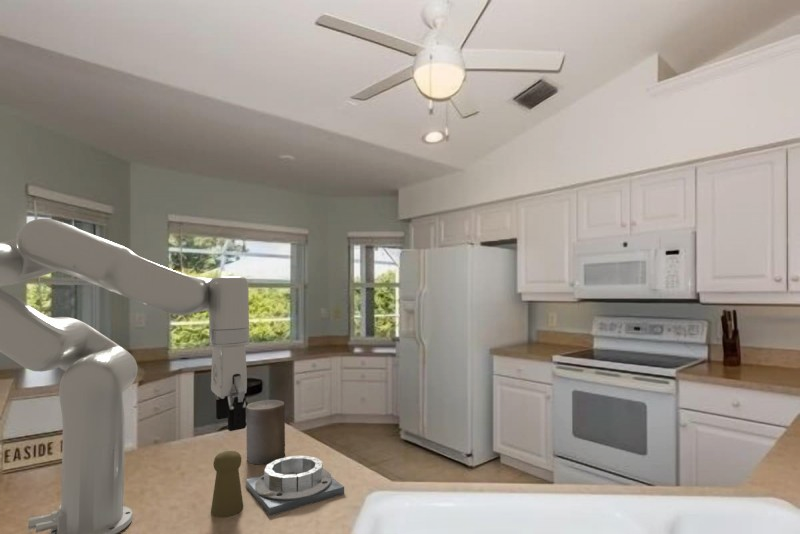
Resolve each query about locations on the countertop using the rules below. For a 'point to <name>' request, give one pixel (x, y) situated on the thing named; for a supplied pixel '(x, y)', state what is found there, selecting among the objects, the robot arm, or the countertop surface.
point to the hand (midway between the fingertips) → (230, 423)
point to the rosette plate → (293, 484)
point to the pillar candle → (265, 431)
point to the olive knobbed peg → (227, 485)
